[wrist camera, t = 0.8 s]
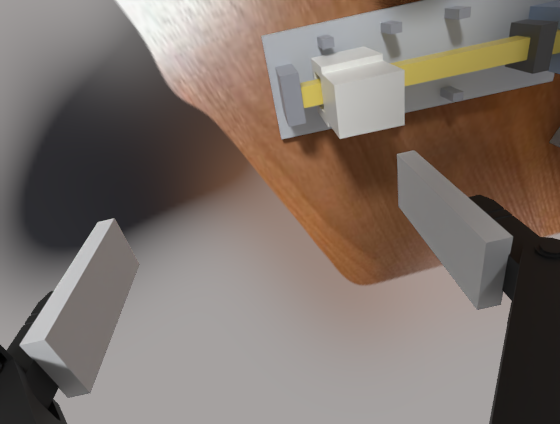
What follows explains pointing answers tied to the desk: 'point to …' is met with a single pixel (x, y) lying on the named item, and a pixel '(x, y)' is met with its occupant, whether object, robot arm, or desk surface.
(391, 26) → the comb rig
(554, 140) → the house
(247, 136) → the desk surface
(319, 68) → the sleeve
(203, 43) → the desk surface
